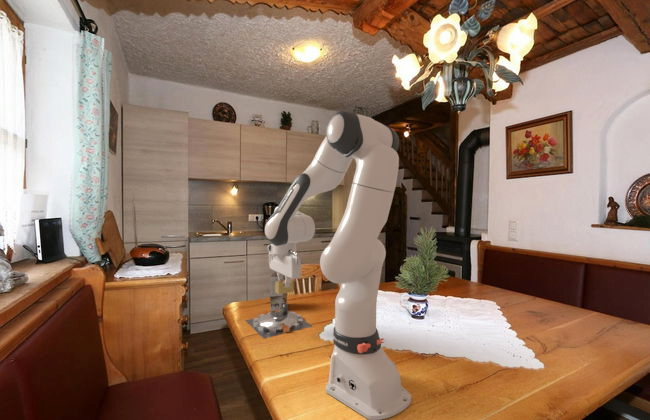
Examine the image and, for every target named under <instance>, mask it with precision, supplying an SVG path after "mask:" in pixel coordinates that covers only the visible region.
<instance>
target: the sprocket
mask: <svg viewBox="0 0 650 420" xmlns="http://www.w3.org/2000/svg"><path fill="white" fill-rule="evenodd" d="M288 306H289V305H288V303H287V304H283V311H268V313H266V314H265V313H261V314H258V316H257V317H254V320H253V327H254V329H256V328H258V331H260V332H265V331H269V333H271V334H276V332H278V331H282V332H283V333H284V334H287V333H286V332H288V333H291V332H290V329H295V330H296V329H298V328H299V327H300V325H302V324H303V320H304V318H303V315H301V314H300V313H299V314H297V312H296V311H291V310H290V311H291V312H289V313H288V311H289V310H288V308H289V307H288ZM254 329H253V330H254ZM296 331H297V330H296Z"/></svg>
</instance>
